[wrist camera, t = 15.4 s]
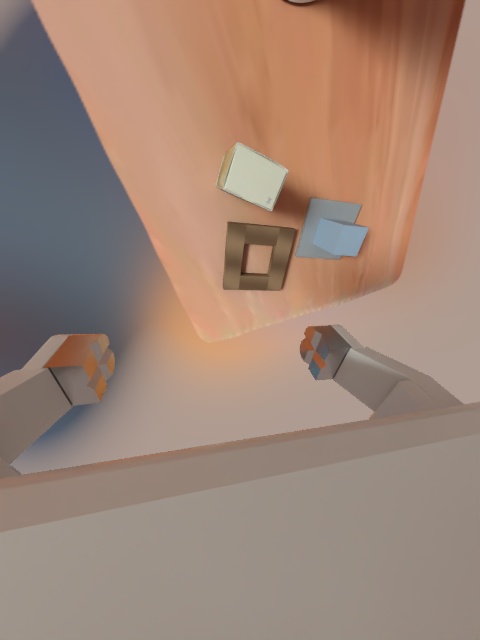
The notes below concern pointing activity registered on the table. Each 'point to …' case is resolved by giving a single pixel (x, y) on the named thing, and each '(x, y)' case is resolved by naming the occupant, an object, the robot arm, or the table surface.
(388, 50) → the table surface
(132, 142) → the table surface
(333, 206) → the ceramic pad
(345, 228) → the blue block
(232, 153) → the skincare box
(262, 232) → the walnut stand
